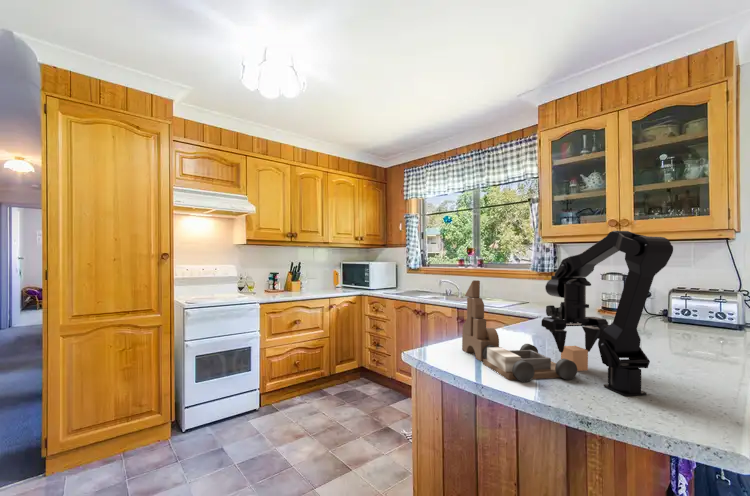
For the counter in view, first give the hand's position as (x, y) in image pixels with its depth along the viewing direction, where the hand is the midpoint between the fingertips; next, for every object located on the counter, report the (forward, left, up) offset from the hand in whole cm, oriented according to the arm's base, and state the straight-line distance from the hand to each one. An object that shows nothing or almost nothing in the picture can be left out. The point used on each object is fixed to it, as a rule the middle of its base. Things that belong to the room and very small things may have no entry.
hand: (574, 351), depth 105 cm
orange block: (0, 0, -5) cm, 5 cm away
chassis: (0, +16, -5) cm, 17 cm away
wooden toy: (+17, +22, -5) cm, 28 cm away
